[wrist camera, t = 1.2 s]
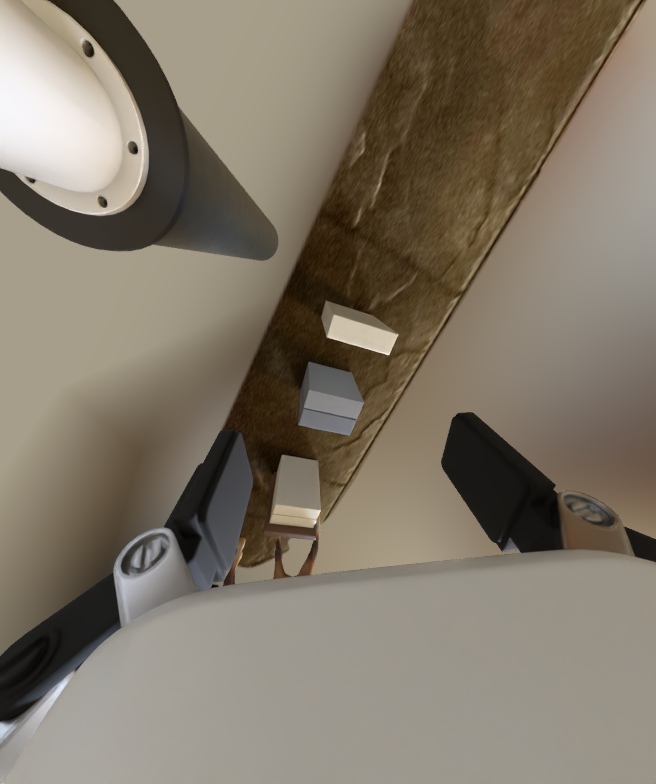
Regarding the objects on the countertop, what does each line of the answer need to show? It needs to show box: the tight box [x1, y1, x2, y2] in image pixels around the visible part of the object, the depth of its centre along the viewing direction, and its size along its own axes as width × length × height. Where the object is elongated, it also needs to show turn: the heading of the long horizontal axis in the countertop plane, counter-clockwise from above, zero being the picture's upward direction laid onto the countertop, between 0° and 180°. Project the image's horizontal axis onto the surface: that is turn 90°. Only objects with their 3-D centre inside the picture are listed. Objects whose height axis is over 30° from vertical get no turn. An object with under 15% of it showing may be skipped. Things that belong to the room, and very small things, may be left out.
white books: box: [263, 455, 321, 540], centre depth 35 cm, size 7×5×10 cm
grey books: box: [298, 362, 364, 435], centre depth 29 cm, size 6×4×8 cm
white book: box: [321, 301, 398, 355], centre depth 24 cm, size 6×2×9 cm, turn 73°
